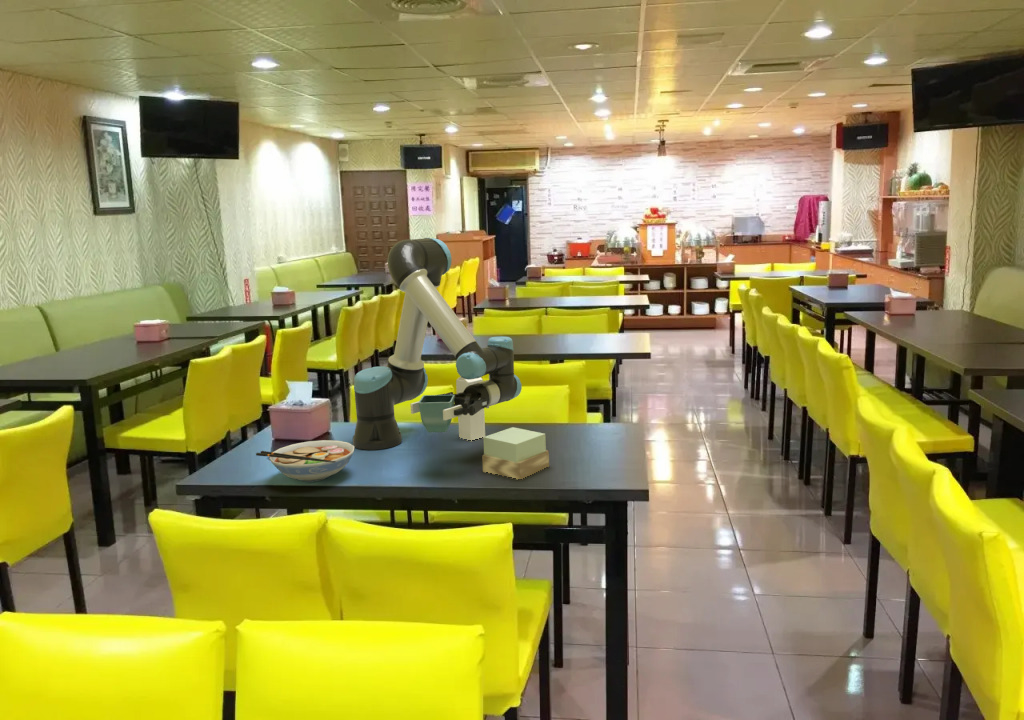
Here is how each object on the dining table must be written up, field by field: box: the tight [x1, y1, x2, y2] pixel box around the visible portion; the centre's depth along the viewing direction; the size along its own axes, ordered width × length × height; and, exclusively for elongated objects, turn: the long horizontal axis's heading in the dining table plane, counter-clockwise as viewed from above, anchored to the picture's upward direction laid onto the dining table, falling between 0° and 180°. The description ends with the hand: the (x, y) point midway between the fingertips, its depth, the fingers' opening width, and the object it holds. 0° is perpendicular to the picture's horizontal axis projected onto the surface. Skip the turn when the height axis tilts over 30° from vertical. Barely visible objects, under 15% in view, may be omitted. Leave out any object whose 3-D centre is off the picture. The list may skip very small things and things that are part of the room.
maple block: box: [481, 449, 550, 480], centre depth 213 cm, size 13×13×5 cm
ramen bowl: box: [255, 439, 355, 483], centre depth 213 cm, size 25×23×8 cm
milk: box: [455, 376, 486, 442], centre depth 244 cm, size 6×6×22 cm
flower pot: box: [419, 394, 455, 433], centre depth 211 cm, size 9×9×9 cm
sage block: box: [482, 426, 547, 463], centre depth 212 cm, size 12×12×5 cm
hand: (427, 411), depth 208 cm, fingers closed on flower pot, 11 cm apart
